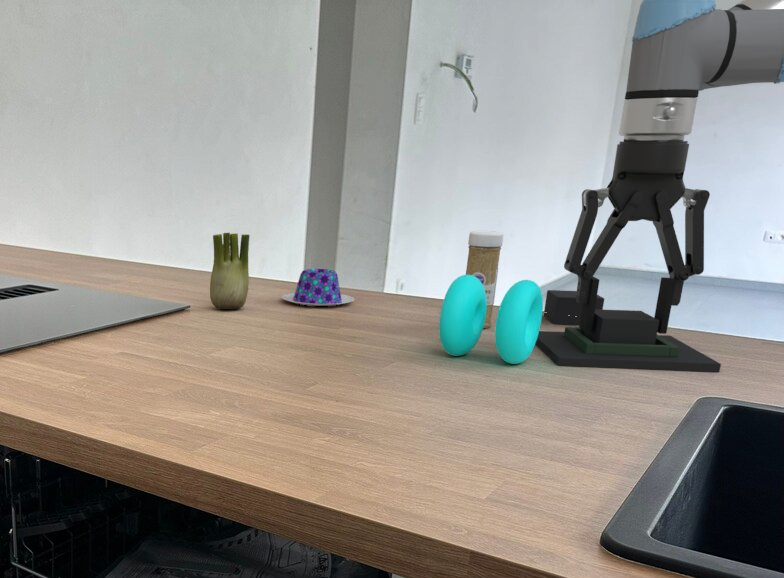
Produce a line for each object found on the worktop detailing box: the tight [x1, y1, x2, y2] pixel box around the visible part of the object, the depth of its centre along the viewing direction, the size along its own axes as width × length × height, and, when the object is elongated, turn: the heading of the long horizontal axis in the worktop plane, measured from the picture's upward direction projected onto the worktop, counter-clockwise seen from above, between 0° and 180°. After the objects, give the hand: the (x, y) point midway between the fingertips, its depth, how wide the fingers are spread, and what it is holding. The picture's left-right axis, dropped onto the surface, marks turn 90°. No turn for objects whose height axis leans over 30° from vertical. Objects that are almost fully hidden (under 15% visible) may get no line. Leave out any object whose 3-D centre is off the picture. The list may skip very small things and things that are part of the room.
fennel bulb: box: [209, 232, 250, 310], centre depth 135 cm, size 6×5×12 cm
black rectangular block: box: [584, 309, 659, 345], centre depth 108 cm, size 6×6×4 cm
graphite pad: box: [543, 289, 605, 326], centre depth 129 cm, size 6×6×4 cm
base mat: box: [535, 326, 722, 373], centre depth 109 cm, size 18×16×2 cm
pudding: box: [281, 268, 355, 307], centre depth 143 cm, size 12×12×5 cm
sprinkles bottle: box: [465, 230, 504, 329], centre depth 123 cm, size 5×5×13 cm
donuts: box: [438, 274, 544, 365], centre depth 104 cm, size 10×10×10 cm
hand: (622, 330), depth 108 cm, fingers open, 8 cm apart
